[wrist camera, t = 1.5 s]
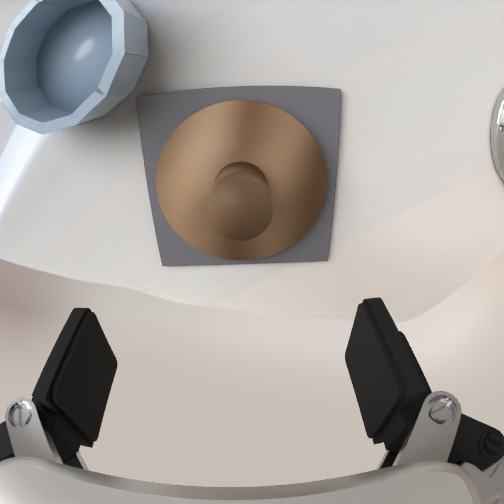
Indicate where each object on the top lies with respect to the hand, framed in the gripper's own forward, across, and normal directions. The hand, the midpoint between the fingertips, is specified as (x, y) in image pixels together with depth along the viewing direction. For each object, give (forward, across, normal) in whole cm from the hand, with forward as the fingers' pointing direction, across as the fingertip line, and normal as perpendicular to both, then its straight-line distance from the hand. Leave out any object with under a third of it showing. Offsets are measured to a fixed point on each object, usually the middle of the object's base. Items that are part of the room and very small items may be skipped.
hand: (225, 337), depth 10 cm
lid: (+16, -1, 0) cm, 16 cm away
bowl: (+16, +11, -12) cm, 23 cm away
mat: (+16, -1, 0) cm, 16 cm away
